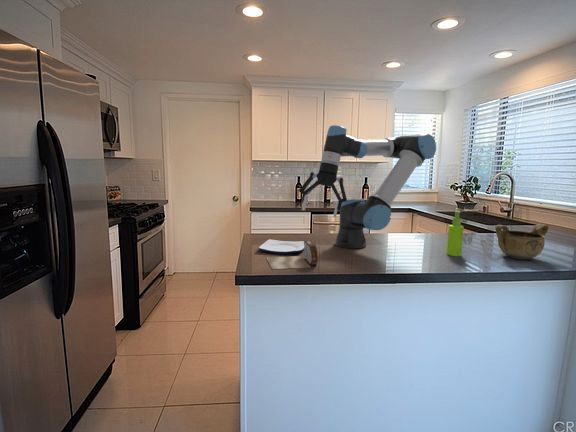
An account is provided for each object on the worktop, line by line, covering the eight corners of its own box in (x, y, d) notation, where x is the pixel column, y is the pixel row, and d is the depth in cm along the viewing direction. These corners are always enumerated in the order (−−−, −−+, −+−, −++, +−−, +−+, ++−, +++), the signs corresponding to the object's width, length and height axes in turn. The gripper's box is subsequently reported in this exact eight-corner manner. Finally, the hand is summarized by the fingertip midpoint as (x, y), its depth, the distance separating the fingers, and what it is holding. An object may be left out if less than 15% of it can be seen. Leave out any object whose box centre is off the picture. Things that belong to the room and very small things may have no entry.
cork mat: (300, 256, 144) (300, 256, 144) (310, 267, 129) (310, 267, 129) (266, 258, 141) (266, 257, 141) (272, 269, 125) (272, 268, 125)
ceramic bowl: (527, 252, 157) (530, 221, 155) (559, 263, 140) (564, 227, 138) (482, 253, 155) (485, 221, 153) (509, 263, 138) (513, 227, 136)
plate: (300, 257, 145) (300, 251, 144) (255, 254, 149) (255, 248, 148) (307, 246, 164) (307, 241, 164) (267, 243, 168) (267, 238, 168)
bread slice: (318, 267, 130) (318, 246, 128) (310, 267, 129) (310, 246, 128) (309, 256, 144) (310, 237, 143) (302, 257, 144) (303, 237, 143)
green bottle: (460, 253, 154) (464, 210, 151) (461, 256, 148) (465, 212, 145) (446, 251, 156) (450, 209, 153) (446, 255, 150) (450, 211, 147)
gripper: (299, 157, 139) (288, 207, 139) (358, 167, 131) (346, 220, 132) (303, 160, 146) (293, 207, 146) (360, 170, 138) (349, 220, 139)
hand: (318, 213), depth 139 cm, fingers open, 13 cm apart
